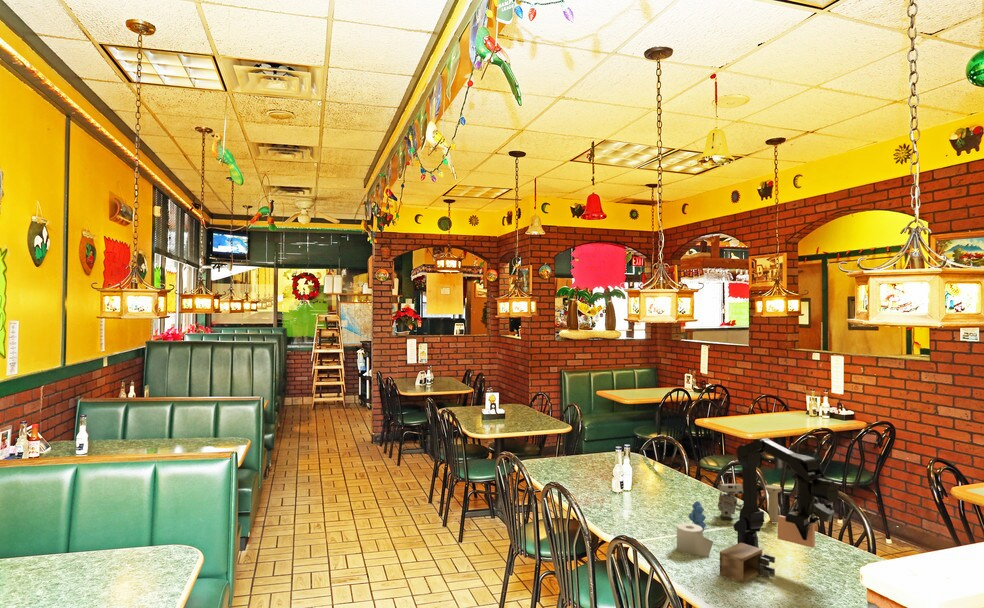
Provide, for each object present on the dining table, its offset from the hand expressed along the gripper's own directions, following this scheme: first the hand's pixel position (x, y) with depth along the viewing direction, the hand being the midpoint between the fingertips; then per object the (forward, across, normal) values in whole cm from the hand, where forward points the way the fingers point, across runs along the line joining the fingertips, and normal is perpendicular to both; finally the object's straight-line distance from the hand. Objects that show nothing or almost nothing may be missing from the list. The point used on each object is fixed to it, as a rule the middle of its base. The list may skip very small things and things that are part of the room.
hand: (806, 539), depth 208 cm
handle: (+12, +45, +33) cm, 57 cm away
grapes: (+12, +7, +47) cm, 49 cm away
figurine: (+12, +35, +47) cm, 60 cm away
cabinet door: (+2, 0, +3) cm, 4 cm away
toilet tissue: (+12, -13, +36) cm, 40 cm away
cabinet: (+12, -18, +14) cm, 26 cm away
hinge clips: (+12, -12, +8) cm, 19 cm away
